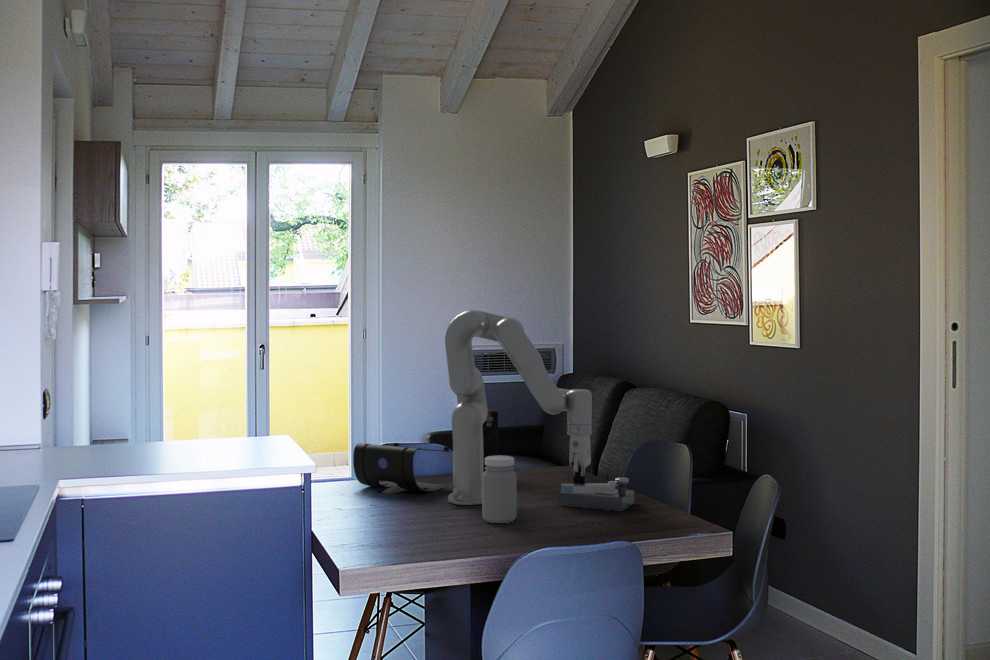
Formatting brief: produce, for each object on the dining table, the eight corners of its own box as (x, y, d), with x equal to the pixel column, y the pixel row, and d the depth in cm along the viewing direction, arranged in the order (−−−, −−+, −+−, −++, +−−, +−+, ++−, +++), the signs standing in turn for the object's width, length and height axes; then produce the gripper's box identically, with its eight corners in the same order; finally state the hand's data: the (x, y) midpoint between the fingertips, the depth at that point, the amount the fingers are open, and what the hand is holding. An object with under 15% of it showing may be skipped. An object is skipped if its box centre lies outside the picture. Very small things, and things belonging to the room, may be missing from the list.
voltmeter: (461, 474, 330) (461, 406, 330) (482, 473, 334) (482, 406, 333) (478, 482, 316) (478, 411, 315) (500, 480, 319) (500, 409, 319)
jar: (522, 519, 257) (522, 456, 257) (505, 526, 249) (505, 461, 249) (493, 515, 262) (493, 454, 262) (475, 522, 254) (475, 458, 253)
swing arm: (629, 492, 272) (630, 479, 272) (563, 493, 271) (563, 480, 271) (626, 490, 276) (626, 477, 276) (560, 491, 275) (560, 478, 275)
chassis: (621, 511, 268) (622, 488, 268) (559, 505, 276) (559, 482, 276) (634, 503, 279) (634, 481, 279) (573, 497, 288) (573, 476, 288)
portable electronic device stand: (350, 490, 299) (350, 444, 299) (390, 479, 320) (390, 436, 320) (415, 498, 287) (415, 449, 287) (452, 486, 308) (452, 441, 308)
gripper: (586, 432, 268) (586, 494, 269) (596, 427, 283) (596, 485, 283) (561, 431, 271) (561, 492, 271) (572, 426, 285) (572, 484, 285)
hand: (579, 488), depth 277 cm, fingers closed
